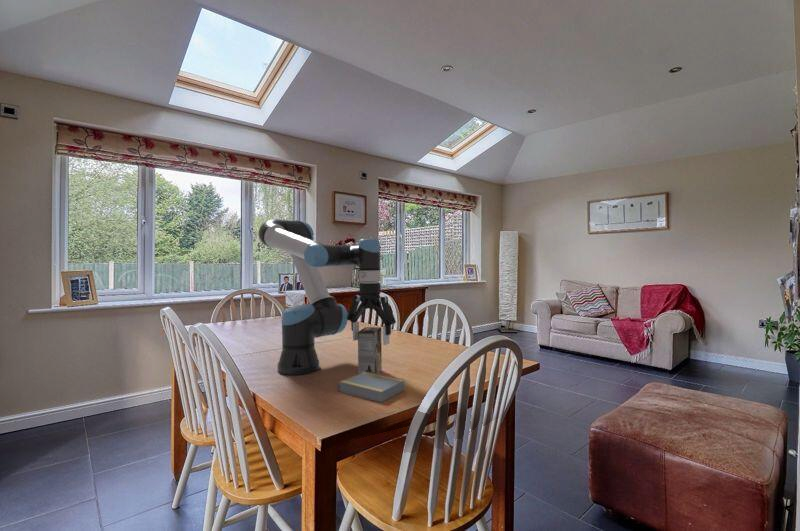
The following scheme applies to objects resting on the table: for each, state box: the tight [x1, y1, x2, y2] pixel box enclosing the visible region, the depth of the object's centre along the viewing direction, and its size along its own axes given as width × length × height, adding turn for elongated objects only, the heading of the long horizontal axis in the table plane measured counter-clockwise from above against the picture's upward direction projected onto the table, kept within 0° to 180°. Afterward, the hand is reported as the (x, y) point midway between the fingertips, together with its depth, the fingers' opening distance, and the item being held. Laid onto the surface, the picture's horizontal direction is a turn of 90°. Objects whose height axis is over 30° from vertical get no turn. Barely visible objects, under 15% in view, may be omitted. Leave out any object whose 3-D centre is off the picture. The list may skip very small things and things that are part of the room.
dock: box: [337, 372, 405, 403], centre depth 120 cm, size 17×12×3 cm
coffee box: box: [357, 326, 383, 375], centre depth 137 cm, size 9×6×16 cm
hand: (370, 342), depth 136 cm, fingers open, 13 cm apart
